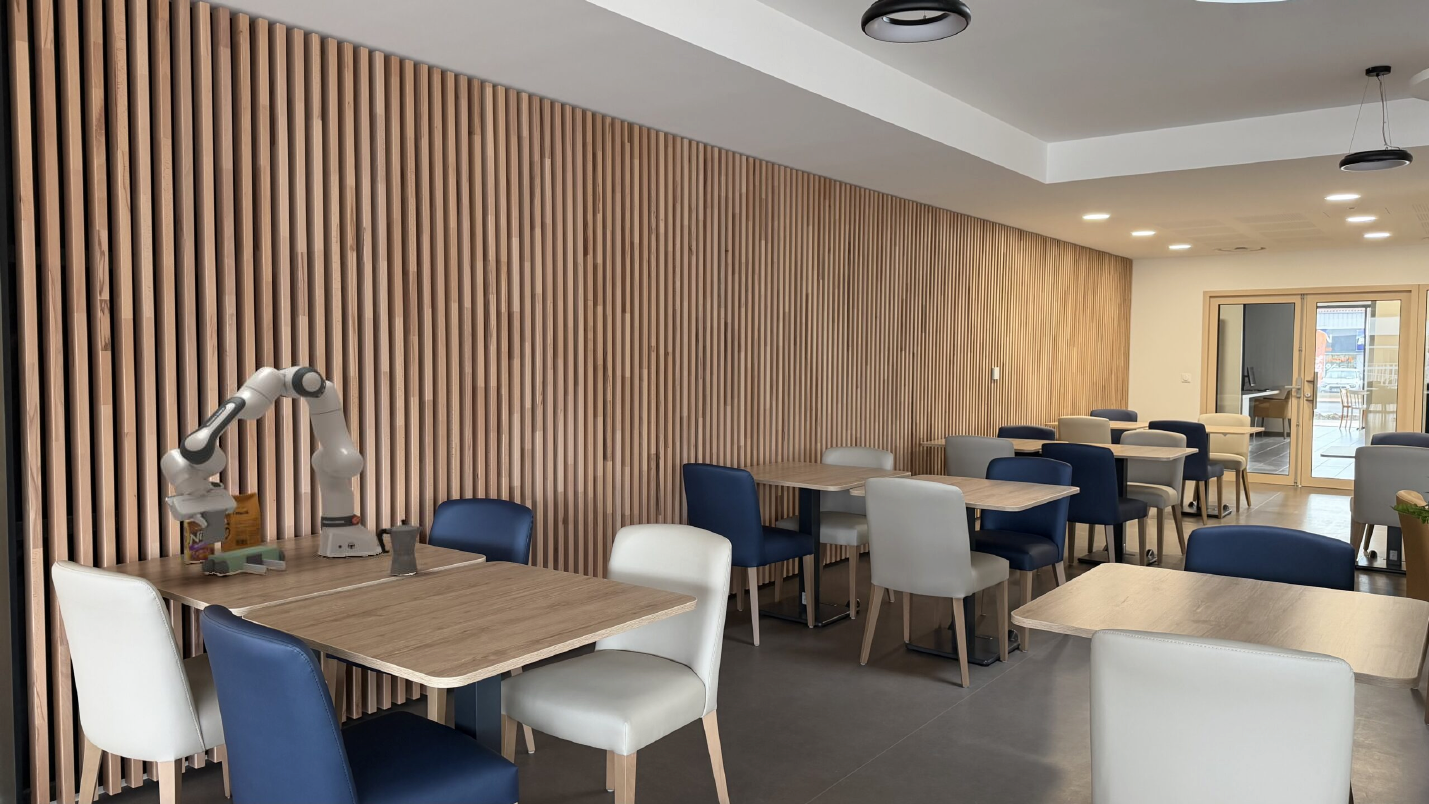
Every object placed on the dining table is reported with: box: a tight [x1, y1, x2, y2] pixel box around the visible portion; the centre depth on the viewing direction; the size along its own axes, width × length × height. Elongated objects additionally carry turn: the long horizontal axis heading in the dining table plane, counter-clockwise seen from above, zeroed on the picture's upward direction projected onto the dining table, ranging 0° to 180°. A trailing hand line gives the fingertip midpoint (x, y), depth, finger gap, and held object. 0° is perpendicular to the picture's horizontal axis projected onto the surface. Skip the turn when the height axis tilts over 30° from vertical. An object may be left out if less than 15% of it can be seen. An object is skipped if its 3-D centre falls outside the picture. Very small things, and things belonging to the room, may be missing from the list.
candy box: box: [183, 519, 216, 562], centre depth 327 cm, size 9×4×15 cm, turn 134°
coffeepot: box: [376, 518, 424, 575], centre depth 308 cm, size 15×9×18 cm, turn 129°
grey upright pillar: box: [202, 509, 225, 544], centre depth 296 cm, size 4×4×10 cm
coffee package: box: [220, 491, 262, 552], centre depth 344 cm, size 10×12×22 cm
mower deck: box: [201, 545, 287, 574], centre depth 314 cm, size 23×20×6 cm
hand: (215, 524), depth 296 cm, fingers closed on grey upright pillar, 4 cm apart
